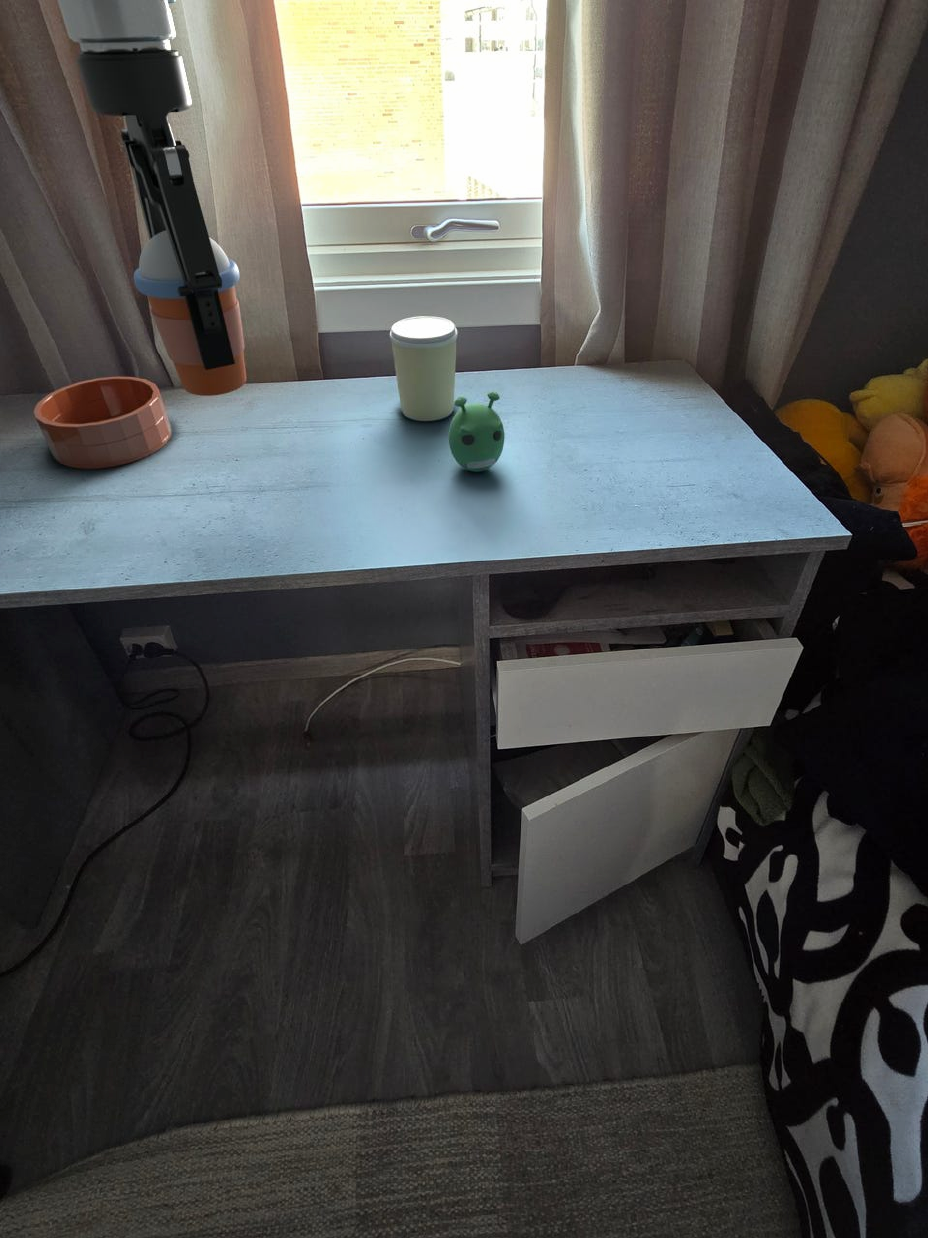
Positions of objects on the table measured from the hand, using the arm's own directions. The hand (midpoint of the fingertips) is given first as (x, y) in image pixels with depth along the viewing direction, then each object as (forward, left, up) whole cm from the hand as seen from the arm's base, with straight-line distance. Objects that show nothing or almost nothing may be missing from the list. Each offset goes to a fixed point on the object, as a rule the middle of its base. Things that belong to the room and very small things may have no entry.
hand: (206, 348), depth 67 cm
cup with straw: (0, 0, -4) cm, 4 cm away
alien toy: (+29, -3, -21) cm, 36 cm away
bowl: (-10, +31, -20) cm, 38 cm away
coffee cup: (+32, +16, -21) cm, 41 cm away
